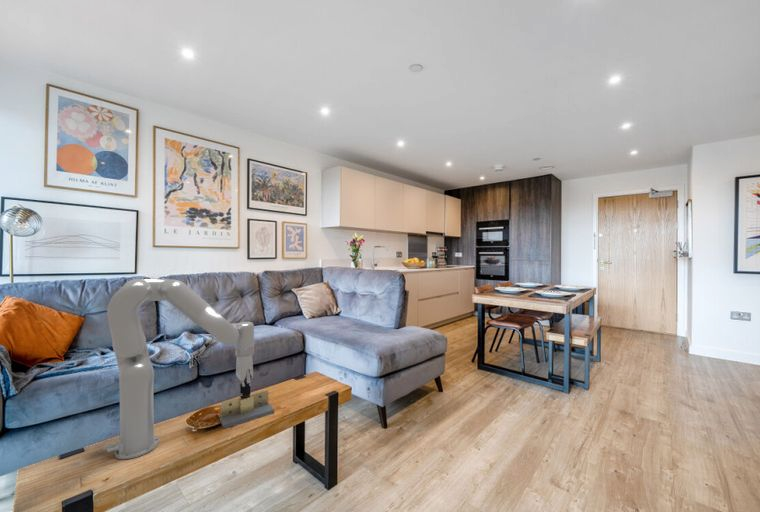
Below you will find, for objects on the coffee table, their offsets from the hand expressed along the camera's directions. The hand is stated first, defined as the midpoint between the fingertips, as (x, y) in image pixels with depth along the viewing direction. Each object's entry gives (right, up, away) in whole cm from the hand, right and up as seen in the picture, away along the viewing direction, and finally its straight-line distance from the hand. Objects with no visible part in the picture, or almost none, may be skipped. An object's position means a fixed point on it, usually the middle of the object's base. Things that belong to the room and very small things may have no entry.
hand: (245, 393), depth 137 cm
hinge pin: (0, -3, 0) cm, 3 cm away
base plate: (0, -9, 0) cm, 9 cm away
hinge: (0, -7, 0) cm, 7 cm away
